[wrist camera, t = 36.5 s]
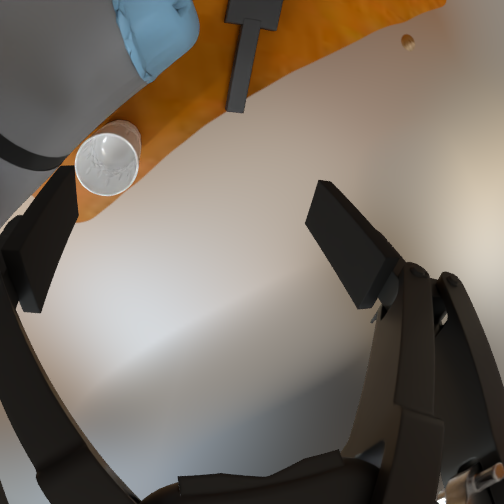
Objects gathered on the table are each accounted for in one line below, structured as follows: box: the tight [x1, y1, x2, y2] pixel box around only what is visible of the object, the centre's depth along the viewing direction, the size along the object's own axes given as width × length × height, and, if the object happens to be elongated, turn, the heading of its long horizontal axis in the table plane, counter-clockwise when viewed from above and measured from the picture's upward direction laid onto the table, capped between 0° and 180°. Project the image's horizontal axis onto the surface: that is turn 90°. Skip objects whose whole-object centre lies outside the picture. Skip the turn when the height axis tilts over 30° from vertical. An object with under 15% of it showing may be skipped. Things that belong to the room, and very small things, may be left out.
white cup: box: [75, 120, 141, 196], centre depth 35 cm, size 8×8×10 cm
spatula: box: [224, 0, 283, 113], centre depth 33 cm, size 7×23×2 cm, turn 169°
